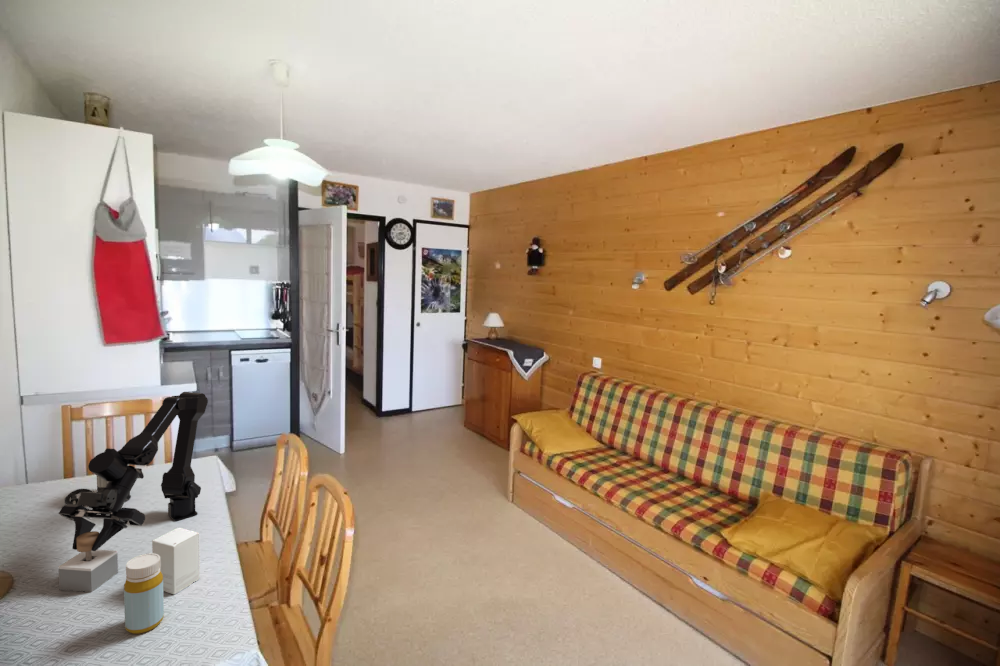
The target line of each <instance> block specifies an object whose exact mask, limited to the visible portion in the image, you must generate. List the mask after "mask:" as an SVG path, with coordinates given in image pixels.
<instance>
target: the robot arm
mask: <svg viewBox="0 0 1000 666" xmlns="http://www.w3.org/2000/svg"><path fill="white" fill-rule="evenodd" d="M208 402H209V399H208V398H207V396H206V395H205V393H201V392H190V391H189V392H187V391H183V392H181V393H180V394H179V395H172V396H167V397H164V398H163V401H162V403H161V405H160V407H159V409H157V411H156V413H155V414H154V415H153V417H152V418H151V419H150V420H149V421H148V423H147V425H146V426H145V427H144V428H143V430H142V431H141V432H140V433H139V434H138V435H135V436H133V437H132V438H130V439H129V440H128V441H127V442H126V443H125V444H124V445H123V446H122V447H121V449H118V451H117V450H116V449H115V448H111V447H110V448H108V447H107V448H105V450H104V452H100V453H99V454H97V455H95V456H94V457H93V458H91V459H90V461H89V463H88V467H87V468H88V470H89V472H91V473H92V474H93V475H95V476H96V477H97V476H98V477H100V478H102V479H103V480H105V481H108V483H107V484H106V486H105V488H104V487H101V488H100V489H98V491H97V490H96V492H95V491H93V492H81V493H79V497H78V503H77V504H65V505H63V506H62V507H61V509H60V510H59V512H58V513H57V514H58V515H59V516H62V517H64V518H65V519H66V520H67V519H68V520H69V521H71V522H74V524H75V527H74V529H75V530H74V535H73V541H72V542H73V543H72V550H74V551H77V540H76V538H77V537H78V536H79V535H81V534H83V533H86V532H91V531H92V530H93V529H94V527H95V526H96V524H95V523H94V522H92V520H93V519H102V520H103V523H102V527H101V530H100V531H99V535H98V537H97V539H96V541H95V542H94V545H93V547H92V549H91V550H92V551H96V550H97V549H100V548H101V547H102V546H103V545H104V544H106V543H107V542H108V541H109V540H110V539H111V538H112V537H114V536H115V535H116V534H117V535H118V533H119V532H121V531H122V530H123V529H127V528H128V523H129V525H130V526H136V527H142V526H143V524H144V522H145V521H146V518H145V517H146V516H145V513H143V512H142V511H140V510H138V509H137V508H133V507H132V508H131V507H123V505H124V503H126V502H125V500H128V501H130V500H131V498H132V495H131V496H129V493H130V494H131V491H132V489H133V487H134V485H135V483H136V482H137V479H144V477H145V475H144V473H143V469H142V468H140V467H138V468H137V467H135V466H144V467H145V466H149V465H150V464H151V463H152V462H153V461H154V460H155V459H154V458H155V456H156V454H157V453H158V450H159V442H160V440H161V439H162V437H163V436H164V434H166V433H165V432H166V431H167V430H168V428H169V427H170V426H171V424H172V423H173V422H174V420H175V418H176V417H178V419H179V422H178V429H177V434H176V439H175V440H176V441H175V448H174V454H173V459H172V465H171V467H170V468H169V470H168V471H167V472H164V473H163V474H162V481H161V484H160V487H161V492H162V494H163V497H164V499H169V502H168V503H167V516H168V517H170V518H171V519H172V520H173V521H175V522H177V521H181V520H183V519H187V518H190V517H193V516H197V515H198V514H199V513H198V512H197V511H196V499H197V498H199V496H200V494H201V490H202V488H201V486H200V485H199V484H197V483H196V481H195V479H196V478H195V477H196V476H195V472H194V471H193V468H192V458H193V453H194V448H195V447H194V445H195V440H196V436H197V435H196V433H197V428H198V422H199V420H200V419H201V418H202V416H203V415H204V414H205V413H206V409H207V406H208ZM127 465H129V466H127ZM87 507H88V508H87Z"/></svg>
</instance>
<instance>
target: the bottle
mask: <svg viewBox="0 0 1000 666" xmlns="http://www.w3.org/2000/svg"><path fill="white" fill-rule="evenodd" d="M160 566H161V562H160V556H159V555H158V554H153V553H144V554H140V555H136V556H135V557H133V558H131V559H130V560H128V561H127V562H126V565H125V577H126V578H125V582H124V586H123V599H124V600H123V602H124V603H123V604H124V607H123V608H124V626H125V627H124V628H125V631H127V632H128V633H130V634H133V635H136V634H137V635H139V634H145V633H147V632H150V631H151V630H154V629H155V628H156V627H158V626H159V624H160V623H162V621H163V620H164V615H165V610H164V607H165V605H164V601H165V600H164V591H163V575H162V573H161V571H160Z"/></svg>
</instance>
